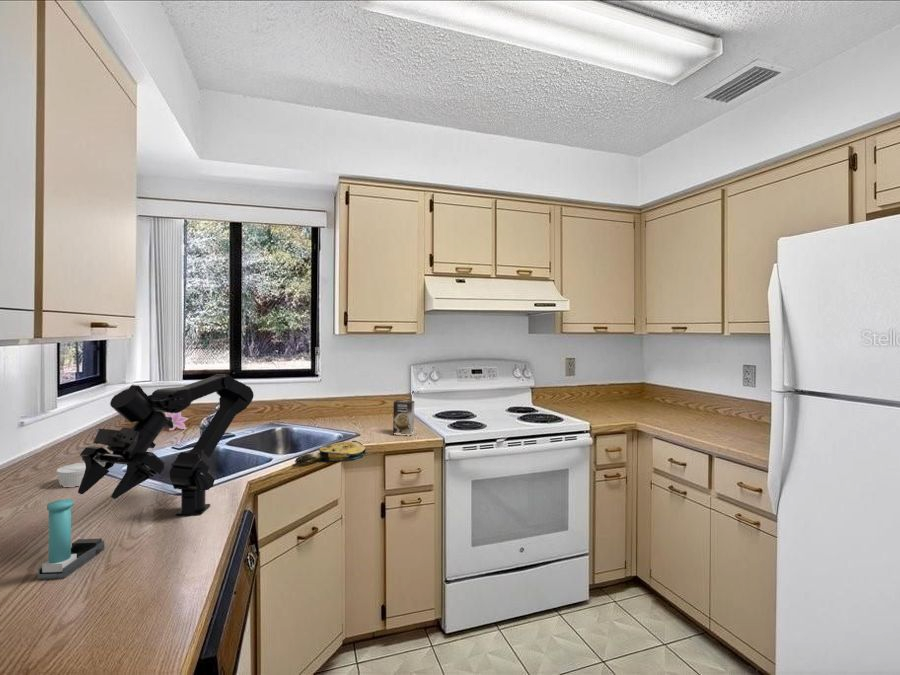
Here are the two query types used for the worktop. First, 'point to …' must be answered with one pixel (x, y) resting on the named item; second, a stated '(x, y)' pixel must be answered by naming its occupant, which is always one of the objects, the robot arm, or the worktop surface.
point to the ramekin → (71, 474)
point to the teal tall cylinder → (59, 536)
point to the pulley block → (336, 453)
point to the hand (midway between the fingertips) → (96, 495)
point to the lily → (177, 420)
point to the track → (84, 553)
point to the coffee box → (403, 417)
